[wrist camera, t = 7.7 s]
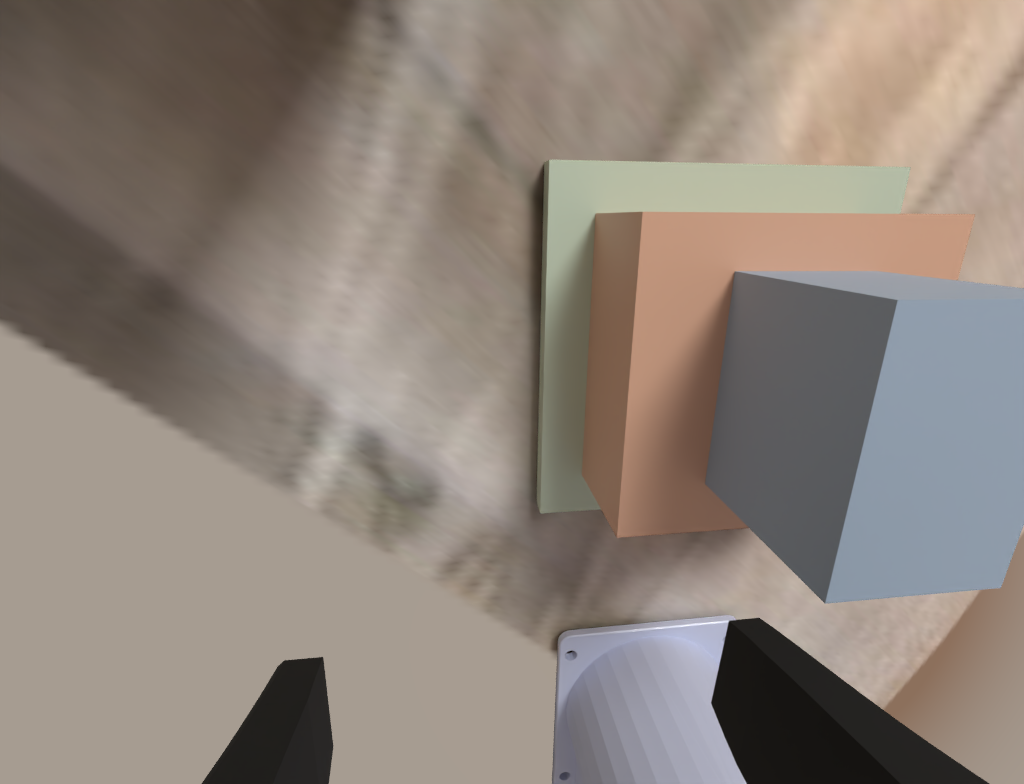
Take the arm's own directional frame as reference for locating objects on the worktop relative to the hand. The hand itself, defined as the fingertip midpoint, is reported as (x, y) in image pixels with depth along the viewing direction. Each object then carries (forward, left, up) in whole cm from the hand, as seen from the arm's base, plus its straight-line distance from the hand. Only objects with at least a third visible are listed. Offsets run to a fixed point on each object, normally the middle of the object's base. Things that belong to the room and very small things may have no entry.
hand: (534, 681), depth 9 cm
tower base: (+3, -8, -10) cm, 14 cm away
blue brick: (+4, -8, -6) cm, 10 cm away
